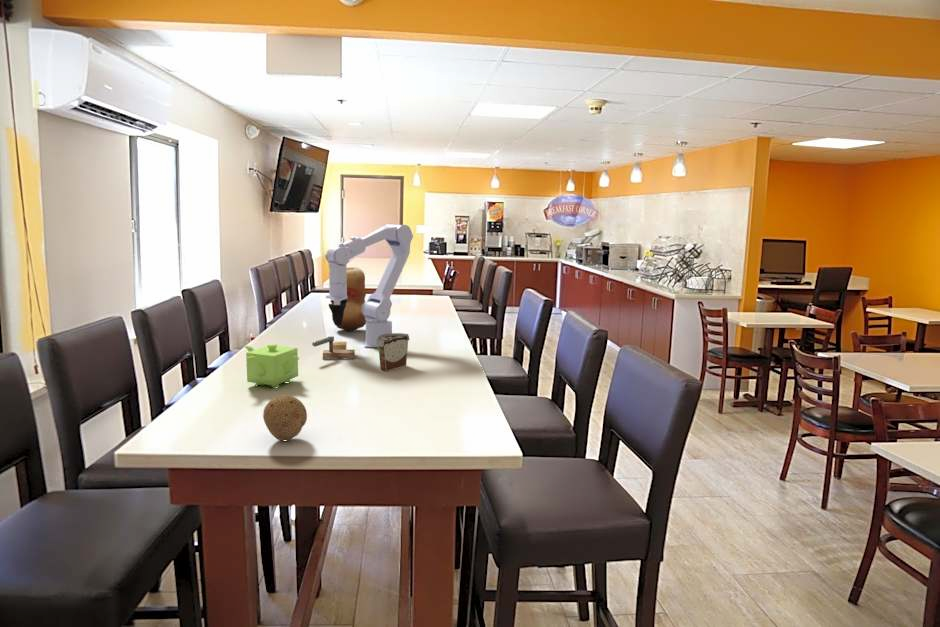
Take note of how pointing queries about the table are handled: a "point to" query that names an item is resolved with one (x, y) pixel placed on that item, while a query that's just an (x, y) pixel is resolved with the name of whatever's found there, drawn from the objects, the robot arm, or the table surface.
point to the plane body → (338, 353)
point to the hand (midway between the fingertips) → (338, 322)
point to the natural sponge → (285, 417)
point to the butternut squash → (354, 300)
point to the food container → (392, 350)
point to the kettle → (271, 364)
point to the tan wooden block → (339, 345)
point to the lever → (323, 341)
